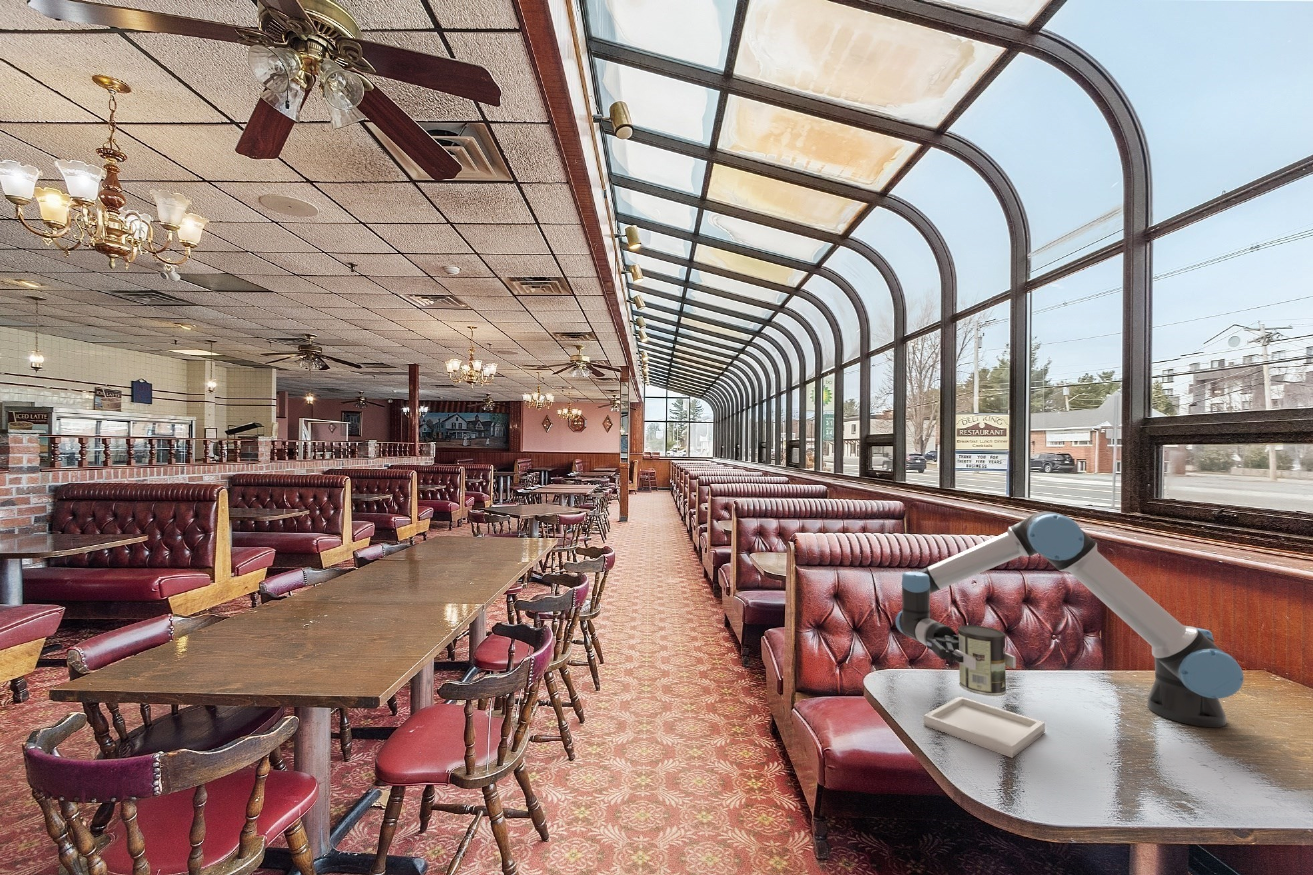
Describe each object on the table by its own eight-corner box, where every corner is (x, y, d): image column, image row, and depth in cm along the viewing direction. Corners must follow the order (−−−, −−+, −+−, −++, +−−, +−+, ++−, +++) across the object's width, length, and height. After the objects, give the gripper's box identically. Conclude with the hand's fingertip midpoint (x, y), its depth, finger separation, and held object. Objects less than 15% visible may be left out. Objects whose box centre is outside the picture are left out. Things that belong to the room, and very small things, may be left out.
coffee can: (996, 682, 146) (996, 626, 146) (1013, 698, 136) (1012, 638, 136) (953, 678, 148) (952, 623, 148) (966, 694, 138) (965, 634, 138)
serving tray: (1044, 732, 139) (1044, 722, 140) (1012, 757, 127) (1012, 746, 127) (960, 705, 155) (959, 696, 155) (923, 725, 143) (923, 715, 143)
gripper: (973, 648, 161) (1036, 677, 139) (899, 650, 158) (951, 680, 136) (973, 621, 162) (1035, 646, 140) (899, 623, 158) (951, 649, 136)
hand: (994, 663), depth 138 cm, fingers closed on coffee can, 10 cm apart
